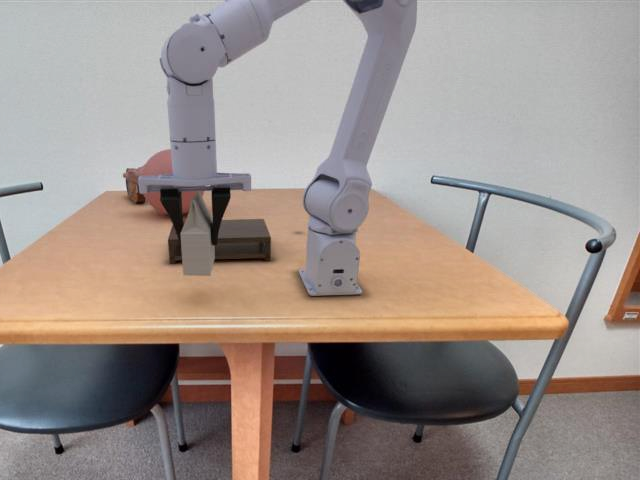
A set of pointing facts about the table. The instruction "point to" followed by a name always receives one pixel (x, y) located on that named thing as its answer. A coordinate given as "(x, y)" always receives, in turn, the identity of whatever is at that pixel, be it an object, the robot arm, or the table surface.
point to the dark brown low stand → (233, 240)
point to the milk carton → (197, 240)
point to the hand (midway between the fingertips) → (199, 243)
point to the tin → (134, 191)
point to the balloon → (159, 166)
